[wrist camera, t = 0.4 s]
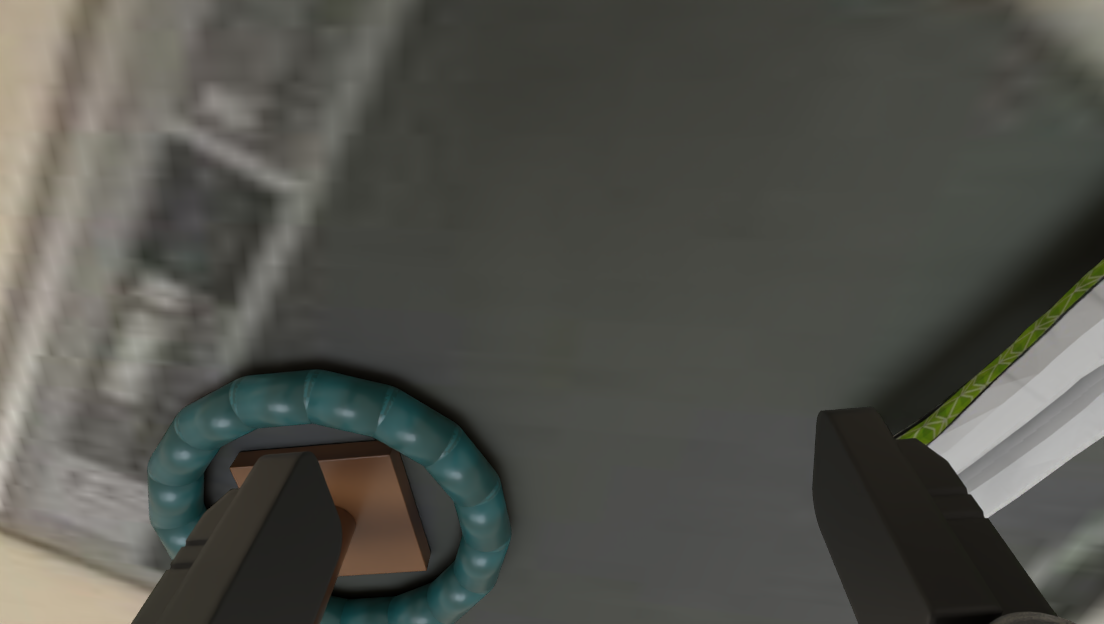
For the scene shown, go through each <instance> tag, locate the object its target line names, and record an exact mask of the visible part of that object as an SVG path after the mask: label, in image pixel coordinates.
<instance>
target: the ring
mask: <svg viewBox="0 0 1104 624" xmlns="http://www.w3.org/2000/svg"><path fill="white" fill-rule="evenodd" d="M312 423H313V424H317V425H321V426H326V427H330V428H335V429H339V430H344V431H348V432H353V433H357V434H362V435H366V436H371V437H373V438H375V439H377V440H379V441H381V442H382V443H384V444H386V445H388V446H389V447H391V448H393V449H395V450H396V451H398V452H400V453H402V454H403V455H405V456H407V457H409V458H410V459H412V460H414V461H416V462H417V463H419V464H421V465H423V466H424V467H425V469H426V470H427V471H428V472H429V473H430V474H431V475H432V477H433V478H434V479H435V480H436V481H437V482H438V484H439V485H440V486H441V487H442V488H443V489H444V491H445V492H446V493H447V494H448V495H449V496H450V498H451V499H452V500H453V501H454V504H455V508H456V511H457V515H458V519H459V522H460V526H461V529H462V533H463V535H462V538H461V542H460V545H459V549H458V552H457V556H456V559H455V561H454V562H453V563H452V564H451V565H450V566H449V567H448V568H447V569H446V570H445V571H444V572H443V573H442V574H440V575H439V576H438V577H437V578H436V579H435V580H434V581H433V582H432V583H429V584H426V585H424V586H421V587H419V588H416V589H413V590H411V591H408V592H406V593H403V594H400V595H398V596H393V597H377V598H360V599H346V598H341V597H336V596H330V599H329V602H328V604H327V607H326V610H325V612H324V615H323V618H322V621H321V623H320V624H454V623H455V622H456V621H458V620H459V619H460V618H461V617H462V616H463V615H464V614H465V613H466V612H468V611H469V610H470V609H471V608H472V607H473V606H474V605H475V604H476V603H477V602H479V601H480V600H481V599H482V598H483V597H484V596H485V595H486V594H487V593H489V592H490V591H491V589H492V588H493V587H494V585H495V583H496V581H497V579H498V576H499V573H500V570H501V567H502V564H503V561H504V558H505V555H506V552H507V549H508V546H509V543H510V540H511V525H510V521H509V516H508V512H507V507H506V503H505V499H504V494H503V490H502V485H501V481H500V478H499V476H498V474H497V473H496V471H495V470H494V469H493V467H492V466H491V465H490V464H489V462H488V461H487V460H486V459H485V457H484V456H483V455H482V454H481V452H480V451H479V450H478V449H477V447H476V446H475V445H474V444H473V442H472V441H471V440H470V439H469V437H468V436H467V435H466V434H465V433H464V431H463V430H462V429H461V428H460V427H459V425H457V424H456V423H455V422H453V421H451V420H450V419H448V418H446V417H445V416H443V415H441V414H440V413H438V412H436V411H435V410H433V409H431V408H430V407H428V406H426V405H425V404H423V403H421V402H420V401H418V400H416V399H415V398H413V397H411V396H410V395H408V394H406V393H405V392H403V391H401V390H400V389H398V388H396V387H393V386H390V385H386V384H382V383H377V382H373V381H369V380H365V379H360V378H356V377H352V376H347V375H343V374H339V373H334V372H330V371H326V370H320V369H312V370H301V371H291V372H280V373H270V374H259V375H249V376H244V377H241V378H238V379H236V380H234V381H232V382H231V383H229V384H227V385H225V386H223V387H221V388H219V389H217V390H216V391H214V392H212V393H210V394H208V395H206V396H204V397H203V398H201V399H199V400H197V401H195V402H193V403H191V404H189V405H188V406H186V407H185V408H183V409H182V410H181V411H180V412H179V413H178V414H177V416H176V417H175V419H174V420H173V422H172V424H171V425H170V427H169V428H168V430H167V432H166V433H165V435H164V437H163V438H162V440H161V441H160V443H159V445H158V446H157V448H156V449H155V451H154V453H153V454H152V456H151V458H150V460H149V463H148V469H147V472H148V498H149V518H150V522H151V524H152V526H153V528H154V529H155V531H156V533H157V535H158V536H159V538H160V540H161V541H162V543H163V545H164V547H165V548H166V550H167V552H168V554H169V555H170V557H171V559H172V561H173V559H174V558H175V556H176V555H177V553H178V552H179V550H180V549H181V547H185V545H186V542H185V541H186V539H187V538H188V536H189V535H190V533H191V532H192V530H193V529H194V527H195V526H196V524H197V523H198V521H199V520H200V518H201V517H202V515H203V514H204V513H205V512H206V511H207V508H206V507H205V505H204V471H205V470H206V468H207V467H208V465H209V464H210V462H211V461H212V459H213V458H214V456H215V455H216V454H217V452H218V451H219V449H220V448H221V447H222V446H224V445H226V444H227V443H229V442H231V441H233V440H235V439H237V438H239V437H241V436H243V435H245V434H247V433H249V432H251V431H253V430H255V429H257V428H266V427H278V426H289V425H301V424H312Z"/></svg>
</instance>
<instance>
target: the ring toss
mask: <svg viewBox="0 0 1104 624" xmlns="http://www.w3.org/2000/svg"><path fill="white" fill-rule="evenodd" d="M305 451H309V452H312V453H313V454H314V455H315V456H316V458H317V460H318V462H319V464H320V467H321V470H322V472H323V475H324V478H325V480H326V483H327V486H328V488H329V491H330V494H331V496H332V499H333V501H334V504H335V507H336V509H337V512H338V515H339V518H340V521H341V526H342V547H341V553H340V557H339V560H338V562H337V565H336V568H335V570H334V573H333V575H332V578H331V580H330V583H329V585H328V588H327V591H326V593H325V596H324V598H323V601H322V603H321V606H320V609H319V611H318V614H317V616H316V619H315V621H314V624H320V623H321V621H322V618H323V615H324V612H325V610H326V607H327V604H328V602H329V599H330V596H331V594H332V591H333V588H334V585H335V583H336V580H337V577H338V576H351V575H367V574H382V573H397V572H413V571H426V570H427V567H428V563H429V559H430V554H431V552H430V549H429V546H428V543H427V539H426V536H425V533H424V530H423V527H422V523H421V520H420V517H419V514H418V511H417V507H416V504H415V501H414V498H413V495H412V491H411V488H410V485H409V482H408V479H407V475H406V472H405V469H404V466H403V463H402V459H401V456H400V453H399V452H398V451H396V450H395V449H393V448H391V447H389V446H388V445H386V444H384V443H382V442H381V441H379V440H377V441H365V442H353V443H341V444H330V445H318V446H306V447H294V448H282V449H270V450H258V451H246V452H240V453H239V454H238V456H237V457H236V459H235V460H234V462H233V463H232V465H231V466H230V470H231V473H232V475H233V477H234V479H235V481H236V483H237V485H238V487H239V488H240V487H241V486H242V484H243V482H244V481H245V479H246V477H247V476H248V474H249V473H250V471H251V469H252V468H253V466H254V465H255V463H256V462H257V460H258V459H259V458H260V457H261V456H263V455H268V454H280V453H292V452H305Z"/></svg>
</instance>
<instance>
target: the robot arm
mask: <svg viewBox="0 0 1104 624" xmlns="http://www.w3.org/2000/svg"><path fill="white" fill-rule="evenodd" d="M812 490H813V502H814V509H815V514H816V518H817V522H818V525H819V528H820V530H821V533H822V535H823V538H824V540H825V543H826V545H827V548H828V550H829V552H830V555H831V557H832V560H833V562H834V565H835V567H836V570H837V572H838V575H839V577H840V579H841V582H842V584H843V587H844V589H845V592H846V594H847V597H848V599H849V602H850V604H851V606H852V609H853V611H854V614H855V616H856V619H857V621H858V624H1075V623H1073V622H1071V621H1068V620H1066V619H1063V618H1060V617H1058V616H1057V614H1056V613H1055V612H1054V611H1053V609H1052V608H1051V607H1050V605H1049V604H1048V602H1047V601H1046V600H1045V598H1044V597H1043V595H1042V594H1041V593H1040V591H1039V590H1038V588H1037V587H1036V585H1035V584H1034V583H1033V581H1032V580H1031V578H1030V577H1029V576H1028V574H1027V573H1026V571H1025V570H1024V568H1023V567H1022V566H1021V564H1020V563H1019V561H1018V560H1017V559H1016V557H1015V556H1014V554H1013V553H1012V551H1011V550H1010V549H1009V547H1008V546H1007V544H1006V543H1005V542H1004V540H1003V539H1002V537H1001V536H1000V534H999V533H998V532H997V530H996V529H995V527H994V526H993V525H992V523H991V522H990V520H989V519H988V518H985V517H984V514H983V510H982V509H981V508H980V506H979V505H978V503H977V502H976V501H975V499H974V498H973V496H972V495H971V494H968V493H967V488H966V486H965V485H964V484H963V482H962V481H961V479H960V478H959V476H958V475H957V474H956V472H955V471H954V469H953V468H952V467H951V465H950V464H949V462H948V461H947V460H946V459H944V458H943V457H942V456H940V455H939V454H937V453H936V452H935V451H933V450H932V449H930V448H929V447H928V446H926V445H925V444H923V443H922V442H921V441H919V440H918V439H916V438H909V439H896V440H895V438H894V437H893V435H892V434H891V432H890V431H889V429H888V427H887V426H886V424H885V423H884V421H883V419H882V418H881V416H880V415H879V413H878V412H877V410H875V409H874V408H873V407H862V408H850V409H837V410H825V411H820V412H819V414H818V417H817V424H816V439H815V454H814V470H813V486H812ZM185 542H186V545H185V547H181V549H180V550H179V552H178V553H177V555H176V556H175V558H174V559H173V561H172V562H171V564H170V565H171V568H170V570H166V571H165V573H164V574H163V576H162V578H161V579H160V581H159V582H158V584H157V585H156V587H155V588H154V590H153V591H152V593H151V594H150V596H149V597H148V599H147V600H146V602H145V603H144V605H143V606H142V608H141V609H140V611H139V613H138V614H137V616H136V617H135V619H134V620H133V622H132V623H131V624H314V621H315V619H316V616H317V614H318V611H319V609H320V606H321V603H322V601H323V598H324V596H325V593H326V591H327V588H328V585H329V583H330V580H331V578H332V575H333V573H334V570H335V568H336V565H337V562H338V560H339V557H340V553H341V547H342V526H341V521H340V518H339V515H338V512H337V509H336V507H335V504H334V501H333V499H332V496H331V494H330V491H329V488H328V486H327V483H326V480H325V478H324V475H323V472H322V470H321V467H320V464H319V462H318V460H317V458H316V456H315V455H314V454H313V453H312V452H309V451H305V452H292V453H280V454H268V455H263V456H261V457H260V458H259V459H258V460H257V462H256V463H255V465H254V466H253V468H252V469H251V471H250V473H249V474H248V476H247V477H246V479H245V481H244V482H243V484H242V486H241V487H240V488H239V489H231V490H230V491H228V492H227V493H226V494H225V495H224V496H223V497H222V498H221V499H219V500H218V501H217V502H216V503H215V504H214V505H213V506H212V507H210V508H209V509H208V510H207V511H206V512H205V513H204V514H203V515H202V517H201V518H200V520H199V521H198V523H197V524H196V526H195V527H194V529H193V530H192V532H191V533H190V535H189V536H188V538H187V539H186V541H185Z"/></svg>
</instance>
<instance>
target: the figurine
mask: <svg viewBox="0 0 1104 624" xmlns="http://www.w3.org/2000/svg"><path fill="white" fill-rule="evenodd" d="M1103 436H1104V259H1103V260H1102V261H1100V262H1099V263H1098V264H1097V265H1096V266H1095V267H1093V268H1092V269H1091V270H1090V271H1089V272H1087V273H1086V274H1085V275H1084V276H1083V277H1082V278H1081V279H1080V280H1079V281H1078V282H1077V283H1076V284H1075V285H1074V286H1073V287H1072V288H1071V289H1070V290H1069V291H1068V292H1067V293H1066V294H1065V295H1064V296H1063V297H1062V298H1061V299H1060V300H1059V301H1058V302H1057V303H1056V304H1055V305H1054V306H1053V307H1052V308H1051V309H1049V310H1048V311H1047V312H1046V313H1045V314H1043V315H1042V316H1041V317H1040V318H1039V319H1037V320H1036V321H1035V322H1034V323H1033V324H1031V325H1030V326H1029V327H1028V328H1027V329H1026V330H1025V331H1024V332H1023V333H1022V334H1021V335H1020V336H1019V337H1018V338H1017V339H1016V340H1015V341H1014V343H1013V344H1012V345H1011V346H1009V347H1008V348H1007V349H1006V350H1005V351H1004V352H1002V353H1001V354H1000V355H999V356H998V357H997V358H995V359H994V360H993V361H992V362H991V363H990V364H988V365H987V366H986V367H985V368H984V369H983V370H982V371H980V372H979V373H978V374H977V375H976V376H975V377H973V378H972V379H971V380H969V381H968V382H967V383H966V384H964V385H963V386H962V387H961V388H959V389H958V390H957V391H956V392H954V393H953V394H952V395H951V396H949V397H948V398H947V399H945V400H944V401H943V402H942V403H940V404H939V405H938V406H937V407H935V408H934V409H933V410H932V411H930V412H929V413H928V414H926V415H925V416H924V417H922V418H921V419H919V420H918V421H916V422H914V423H913V424H911V425H910V426H908V427H907V428H905V429H904V430H902V431H900V432H899V433H897V434H896V435H894V436H893V437H894V438H895V440H896V439H909V438H916V439H918V440H919V441H921V442H922V443H923V444H925V445H926V446H928V447H929V448H930V449H932V450H933V451H935V452H936V453H937V454H939V455H940V456H942V457H943V458H944V459H946V460H947V461H948V462H949V464H950V465H951V467H952V468H953V469H954V471H955V472H956V474H957V475H958V476H959V478H960V479H961V481H962V482H963V484H964V485H965V486H966V488H967V493H968V494H971V495H972V496H973V498H974V499H975V501H976V502H977V503H978V505H979V506H980V508H981V509H982V510H983V514H984V517H985V518H989V517H990V516H991V515H993V514H994V513H995V512H997V511H998V510H1000V509H1001V508H1003V507H1004V506H1006V505H1007V504H1009V503H1010V502H1012V501H1013V500H1015V499H1016V498H1018V497H1019V496H1021V495H1022V494H1023V493H1025V492H1026V491H1027V490H1029V489H1030V488H1031V487H1033V486H1034V485H1036V484H1037V483H1038V482H1040V481H1041V480H1042V479H1044V478H1045V477H1047V476H1048V475H1049V474H1051V473H1052V472H1053V471H1055V470H1056V469H1057V468H1059V467H1060V466H1062V465H1063V464H1064V463H1066V462H1067V461H1068V460H1070V459H1071V458H1072V457H1074V456H1075V455H1077V454H1078V453H1080V452H1081V451H1083V450H1084V449H1086V448H1087V447H1088V446H1090V445H1091V444H1093V443H1094V442H1096V441H1097V440H1099V439H1100V438H1102V437H1103Z"/></svg>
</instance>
